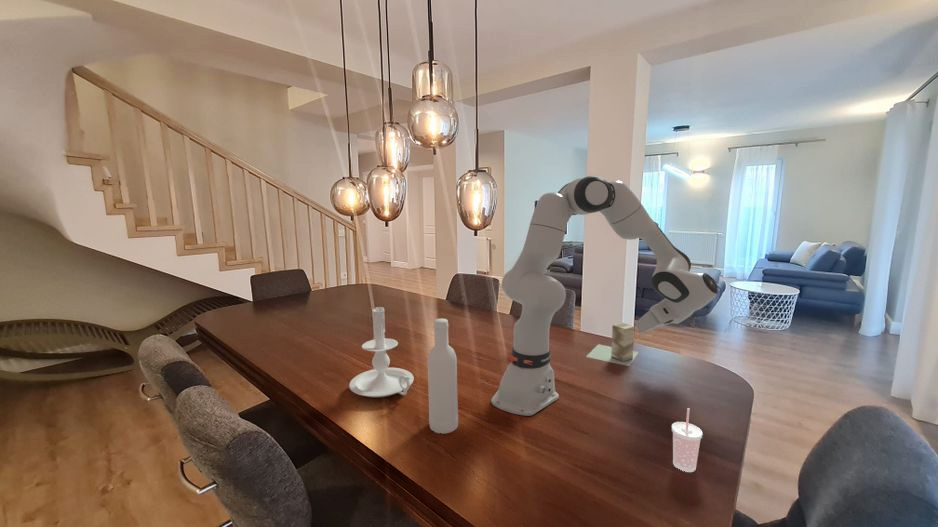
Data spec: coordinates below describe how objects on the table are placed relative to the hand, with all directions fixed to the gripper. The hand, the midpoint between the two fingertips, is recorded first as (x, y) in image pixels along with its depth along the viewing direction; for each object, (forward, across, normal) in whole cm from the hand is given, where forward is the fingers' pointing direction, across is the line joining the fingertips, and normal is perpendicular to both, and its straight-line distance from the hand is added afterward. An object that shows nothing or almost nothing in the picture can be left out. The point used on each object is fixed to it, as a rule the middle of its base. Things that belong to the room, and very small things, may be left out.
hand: (645, 330), depth 139 cm
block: (+16, 0, +3) cm, 16 cm away
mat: (+20, 0, 0) cm, 20 cm away
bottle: (+15, +79, +5) cm, 80 cm away
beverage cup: (-16, +40, +36) cm, 57 cm away
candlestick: (+34, +85, -15) cm, 93 cm away
